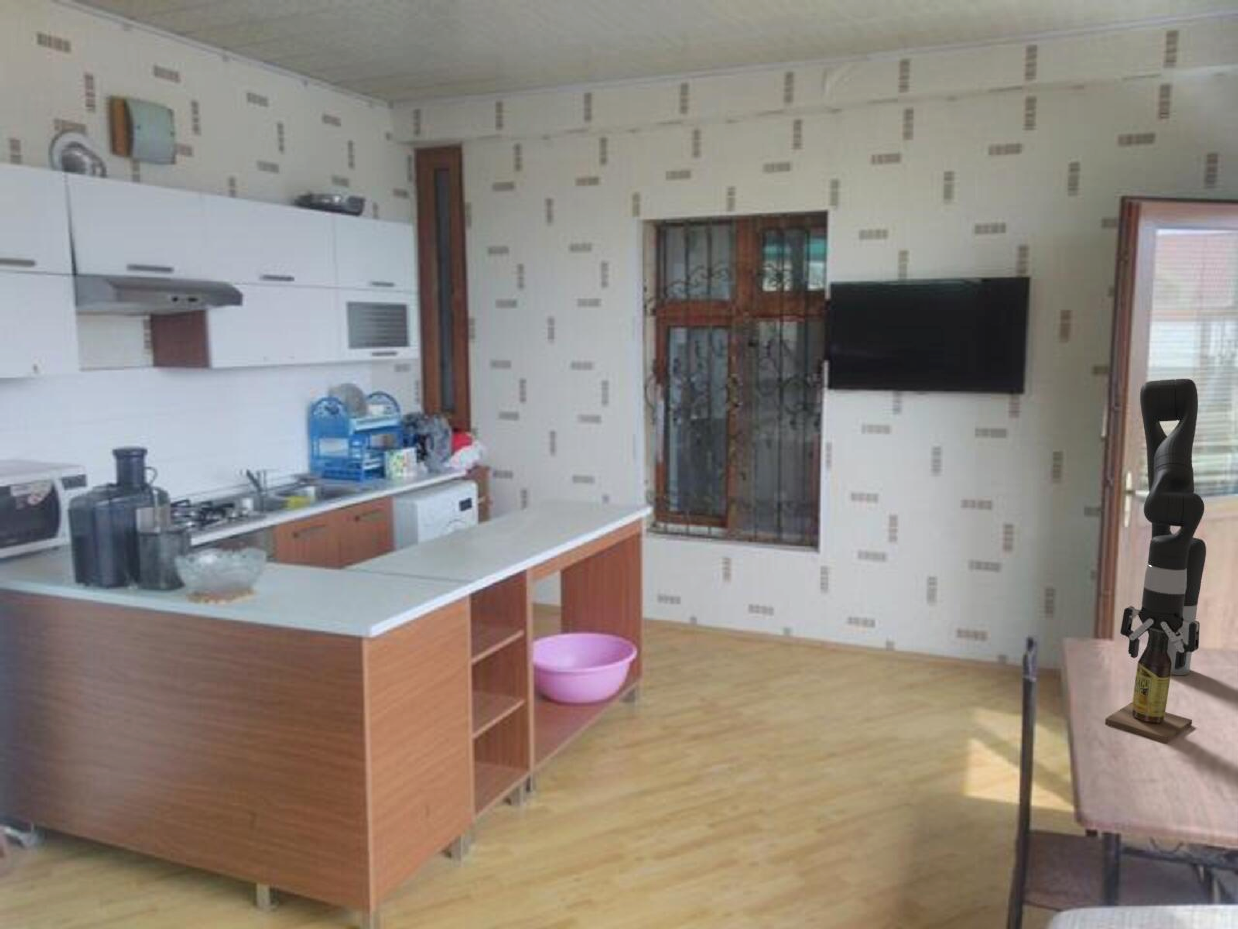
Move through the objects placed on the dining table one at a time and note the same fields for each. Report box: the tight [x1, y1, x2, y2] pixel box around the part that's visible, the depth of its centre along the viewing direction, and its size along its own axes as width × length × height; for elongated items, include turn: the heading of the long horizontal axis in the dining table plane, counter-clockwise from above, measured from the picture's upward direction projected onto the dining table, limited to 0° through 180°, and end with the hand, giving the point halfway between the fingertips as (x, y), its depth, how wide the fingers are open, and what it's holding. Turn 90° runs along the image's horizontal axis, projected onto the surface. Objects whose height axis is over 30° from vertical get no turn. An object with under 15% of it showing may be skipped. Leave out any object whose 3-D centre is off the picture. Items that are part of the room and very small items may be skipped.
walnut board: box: [1104, 702, 1193, 744], centre depth 205 cm, size 14×12×1 cm
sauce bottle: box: [1131, 627, 1172, 723], centre depth 204 cm, size 7×6×20 cm
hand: (1155, 662), depth 203 cm, fingers open, 8 cm apart
